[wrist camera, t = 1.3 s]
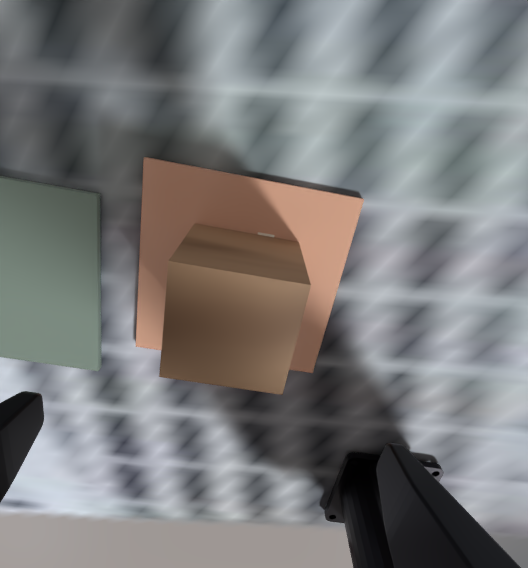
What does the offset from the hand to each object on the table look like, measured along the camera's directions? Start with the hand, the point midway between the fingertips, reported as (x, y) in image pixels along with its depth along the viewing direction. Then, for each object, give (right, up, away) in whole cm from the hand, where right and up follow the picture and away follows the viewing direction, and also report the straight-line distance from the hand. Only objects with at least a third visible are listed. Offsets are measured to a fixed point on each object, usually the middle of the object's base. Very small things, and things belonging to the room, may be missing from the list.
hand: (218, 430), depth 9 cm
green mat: (-12, +4, +9) cm, 16 cm away
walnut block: (0, +4, +9) cm, 10 cm away
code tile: (0, +4, +9) cm, 10 cm away
